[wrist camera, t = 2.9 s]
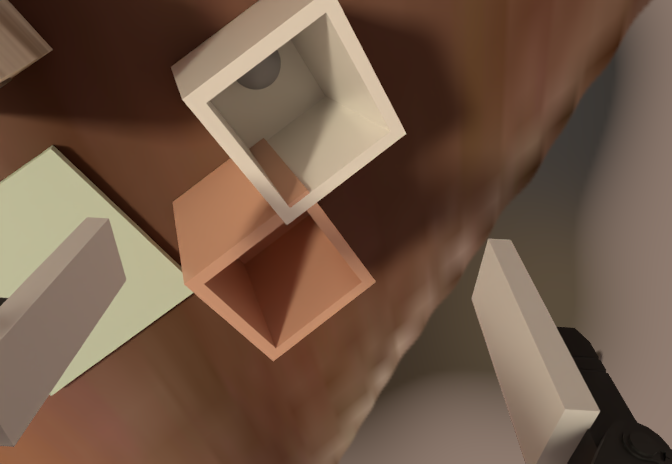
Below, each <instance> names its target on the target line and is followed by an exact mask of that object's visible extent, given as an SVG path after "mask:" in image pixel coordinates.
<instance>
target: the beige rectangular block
mask: <svg viewBox="0 0 672 464" xmlns="http://www.w3.org/2000/svg"><path fill="white" fill-rule="evenodd" d="M52 50H53V49H52V48H51V47H50V46H49V45H48V43H47V42H46V41H45V40H44V39H43V38H42V37H41V36H40V35H39V34H38V33H37V31H36V30H35V29H34V28H33V27H32V26H31V25H30V24H29V23H28V22H27V20H26V19H25V18H24V17H23V16H22V15H21V14H20V13H19V12H18V11H17V10H16V8H15V7H14V6H13V5H12V4H11V3H10V2H9V1H8V0H0V88H2V87H3V86H4V85H6V84H7V83H9V82H10V81H12V79H11V78H13V77H14V76H16V75H17V74H18V73H20V72H21V71H23V70H24V69H26V68H27V67H29V66H30V65H31V64H33V63H34V62H36V61H37V60H39V59H40V58H42V57H43V56H45V55H46V54H47V53H49V52H50V51H52Z"/></svg>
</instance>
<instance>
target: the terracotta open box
mask: <svg viewBox="0 0 672 464" xmlns="http://www.w3.org/2000/svg"><path fill="white" fill-rule="evenodd" d="M249 150H250V151H251V153H252V154H253V155H254V157H255V158H256V160H257V161H258V163H259V164H260V166H261V167H262V169H263V170H264V171H265V173H266V174H267V176H268V177H269V179H270V180H271V182H272V183H273V185H274V186H275V187H276V189H277V190H278V192H279V193H280V195H281V196H282V198H283V199H284V201H285V202H286V203H287V205H288V206H289V207H290V208H291V207H292V206H293V205H295V204H296V203H297V202H299V201H300V200H301V199H303V198H304V197H305V196H306V195H308V194H309V193H310V192H309V191H308V190H307V189H306V187H305V186H304V185H303V184H302V183H301V181H300V180H299V179H298V178H297V177H296V176H295V174H294V173H293V172H292V171H291V170H290V168H289V167H288V166H287V165H286V164H285V162H284V161H283V160H282V159H281V158H280V157H279V155H278V154H277V153H276V152H275V151H274V149H273V148H272V147H271V146H270V145H269V144H268V142H267V141H266V140H265V139H264V138H263V139H261V140H260V141H259V142H257V143H256V144H255V145H253V146H252V147H251V148H249ZM173 208H174V216H175V223H176V230H177V237H178V244H179V252H180V259H181V266H182V273H183V280H184V285H185V286H187V287H188V288H189V289H190V290H191V291H192V292H194V293H195V294H196V295H197V296H198V297H199V298H201V299H202V300H203V301H204V302H205V303H206V304H207V305H209V306H210V307H211V308H212V309H213V310H214V311H216V312H217V313H218V314H219V315H220V316H221V317H223V318H224V319H225V320H226V321H227V322H228V323H230V324H231V325H232V326H233V327H234V328H235V329H237V330H238V331H239V332H240V333H241V334H242V335H244V336H245V337H246V338H247V339H248V340H249V341H251V342H252V343H253V344H254V345H255V346H256V347H257V348H259V349H260V350H261V351H262V352H263V353H264V354H266V355H267V356H268V357H269V358H270V359H271V360H273V361H274V360H275V359H277V358H278V357H279V356H281V355H282V354H283V353H285V352H286V351H287V350H288V349H290V348H291V347H292V346H294V345H295V344H296V343H297V342H299V341H300V340H301V339H303V338H304V337H305V336H306V335H308V334H309V333H310V332H312V331H313V330H314V329H316V328H317V327H318V326H319V325H321V324H322V323H323V322H325V321H326V320H327V319H328V318H330V317H331V316H332V315H334V314H335V313H336V312H338V311H339V310H340V309H341V308H343V307H344V306H345V305H347V304H348V303H349V302H350V301H352V300H353V299H354V298H356V297H357V296H358V295H360V294H361V293H362V292H363V291H365V290H366V289H367V288H369V287H370V286H371V285H372V284H374V283H375V282H376V281H375V280H374V279H373V277H372V276H371V275H370V273H369V272H368V271H367V269H366V268H365V266H364V265H363V264H362V262H361V261H360V260H359V258H358V257H357V256H356V254H355V253H354V252H353V250H352V249H351V248H350V246H349V245H348V244H347V242H346V241H345V240H344V238H343V237H342V235H341V234H340V233H339V231H338V230H337V229H336V227H335V226H334V225H333V223H332V222H331V221H330V219H329V218H328V217H327V215H326V214H325V213H324V211H323V210H322V209H321V207H320V206H319V205H318V203H315V204H314V205H313V206H311V207H310V208H309V209H308V210H306V211H305V212H304V213H302V214H301V215H300V216H298V217H297V218H296V219H295V220H293V221H292V222H291V223H289V224H288V225H286V224H285V222H284V221H283V220H282V219H281V218H280V216H279V215H278V214H277V213H276V212H275V210H274V209H273V208H272V207H271V206H270V204H269V203H268V202H267V201H266V200H265V198H264V197H263V196H262V195H261V194H260V192H259V191H258V190H257V189H256V188H255V186H254V185H253V184H252V183H251V182H250V180H249V179H248V178H247V177H246V176H245V174H244V173H243V172H242V171H241V170H240V168H239V167H238V166H237V165H236V164H235V162H234V161H233V160H232V159H231V158H230V159H229V160H227V161H226V162H225V163H223V164H222V165H221V166H219V167H218V168H217V169H216V170H214V171H213V172H212V173H210V174H209V175H208V176H206V177H205V178H204V179H202V180H201V181H200V182H198V183H197V184H196V185H194V186H193V187H192V188H191V189H189V190H188V191H187V192H185V193H184V194H183V195H181V196H180V197H179V198H177V199H176V200H175V201H173Z"/></svg>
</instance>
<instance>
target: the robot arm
mask: <svg viewBox="0 0 672 464" xmlns="http://www.w3.org/2000/svg"><path fill="white" fill-rule="evenodd" d="M125 282H126V276H125V273H124V269H123V266H122V262H121V259H120V255H119V252H118V248H117V245H116V241H115V238H114V234H113V231H112V227H111V224H110V220H109V218H93V217H87V218H86V219H85V220H84V221H83V222H82V223H81V224H80V225H79V226H78V227H77V228H76V229H75V230H74V231H73V232H72V233H71V234H70V235H69V236H68V237H67V238H66V239H65V240H64V241H63V242H62V243H61V244H60V245H59V246H58V247H57V248H56V250H55V251H54V252H53V253H52V254H51V255H50V256H49V257H48V258H47V259H46V260H45V261H44V262H43V263H42V264H41V265H40V266H39V267H38V268H37V269H36V270H35V271H34V272H33V273H32V274H31V275H30V276H29V277H28V278H27V279H26V280H25V281H24V282H23V283H22V284H21V286H20V287H19V288H18V289H17V290H16V291H15V292H14V293H13V294H12V295H11V296H10V297H9V298H0V446H13V447H14V446H15V445H16V443H17V442H18V440H19V439H20V437H21V436H22V434H23V433H24V431H25V430H26V428H27V427H28V425H29V424H30V422H31V421H32V419H33V418H34V416H35V415H36V413H37V412H38V410H39V409H40V407H41V406H42V405H43V403H44V402H45V400H46V399H47V397H48V396H49V394H50V393H51V391H52V390H53V388H54V387H55V385H56V384H57V382H58V381H59V379H60V378H61V376H62V375H63V373H64V372H65V370H66V369H67V367H68V366H69V365H70V363H71V362H72V360H73V359H74V357H75V356H76V354H77V353H78V351H79V350H80V348H81V347H82V345H83V344H84V342H85V341H86V339H87V338H88V336H89V335H90V333H91V332H92V330H93V329H94V327H95V326H96V324H97V323H98V322H99V320H100V319H101V317H102V316H103V314H104V313H105V311H106V310H107V308H108V307H109V305H110V304H111V302H112V301H113V299H114V298H115V296H116V295H117V293H118V292H119V290H120V289H121V287H122V286H123V284H124V283H125ZM472 301H473V304H474V308H475V311H476V313H477V317H478V320H479V323H480V326H481V329H482V332H483V335H484V338H485V341H486V344H487V347H488V350H489V353H490V357H491V360H492V363H493V366H494V369H495V371H496V375H497V378H498V381H499V384H500V387H501V390H502V393H503V396H504V399H505V402H506V405H507V408H508V412H509V415H510V418H511V421H512V424H513V427H514V429H515V433H516V436H517V439H518V442H519V445H520V448H521V451H522V454H523V457H524V461H525V464H672V450H671V449H670V447H669V446H668V445H667V444H666V442H665V441H664V440H663V439H662V438H661V437H660V436H659V435H658V434H656V433H655V432H654V431H652V430H651V429H649V428H648V427H646V426H643V425H641V424H639V423H637V421H636V420H635V418H634V417H633V415H632V413H631V412H630V410H629V408H628V407H627V405H626V403H625V401H624V400H623V398H622V396H621V395H620V393H619V391H618V389H617V388H616V386H615V384H614V383H613V381H612V379H611V378H610V376H609V374H608V373H606V369H605V367H604V366H603V364H602V362H601V361H600V360H599V359H598V358H599V357H598V355H597V354H596V352H595V350H594V349H593V347H592V345H591V343H590V342H589V341H588V340H587V339H586V338H585V337H584V336H583V335H582V334H581V333H579V332H578V331H577V330H576V329H575V328H565V327H556V326H555V324H554V322H553V320H552V318H551V316H550V314H549V312H548V310H547V308H546V306H545V305H544V303H543V301H542V299H541V297H540V295H539V293H538V291H537V289H536V287H535V285H534V283H533V282H532V280H531V278H530V276H529V274H528V272H527V270H526V268H525V266H524V264H523V262H522V261H521V259H520V257H519V255H518V253H517V251H516V249H515V247H514V245H513V243H512V241H511V240H505V239H488V242H487V245H486V249H485V253H484V256H483V260H482V263H481V267H480V270H479V274H478V278H477V281H476V285H475V288H474V292H473V295H472Z"/></svg>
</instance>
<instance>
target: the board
mask: <svg viewBox="0 0 672 464" xmlns="http://www.w3.org/2000/svg"><path fill="white" fill-rule="evenodd" d="M87 217H93V218H109V220H110V224H111V227H112V231H113V234H114V238H115V241H116V245H117V248H118V252H119V255H120V259H121V262H122V266H123V269H124V273H125V276H126V282H125V283H124V284H123V286H122V287H121V289H120V290H119V292H118V293H117V295H116V296H115V298H114V299H113V301H112V302H111V304H110V305H109V307H108V308H107V310H106V311H105V313H104V314H103V316H102V317H101V319H100V320H99V322H98V323H97V324H96V326H95V327H94V329H93V330H92V332H91V333H90V335H89V336H88V338H87V339H86V341H85V342H84V344H83V345H82V347H81V348H80V350H79V351H78V353H77V354H76V356H75V357H74V359H73V360H72V362H71V363H70V365H69V366H68V367H67V369H66V370H65V372H64V373H63V375H62V376H61V378H60V379H59V381H58V382H57V384H56V385H55V387H54V388H53V390H52V391H51V393H50V394H49V395H51V396H52V395H53V394H54V393H56V392H57V391H59V390H60V389H61V388H63V387H64V386H65V385H67V384H68V383H70V382H71V381H72V380H74V379H75V378H76V377H78V376H79V375H81V374H82V373H83V372H85V371H86V370H88V369H89V368H90V367H92V366H93V365H94V364H96V363H97V362H99V361H100V360H101V359H103V358H104V357H105V356H107V355H108V354H110V353H111V352H112V351H114V350H115V349H116V348H118V347H119V346H121V345H122V344H123V343H125V342H126V341H127V340H129V339H130V338H132V337H133V336H134V335H136V334H137V333H139V332H140V331H141V330H143V329H144V328H145V327H147V326H148V325H150V324H151V323H152V322H154V321H155V320H156V319H158V318H159V317H161V316H162V315H163V314H165V313H166V312H167V311H169V310H170V309H172V308H173V307H174V306H176V305H177V304H178V303H180V302H181V301H183V300H184V299H185V298H187V297H188V296H190V295H191V294H192V293H194V292H192V291H191V290H190V289H189V288H188V287H187V286H185V285H184V280H183V273H182V267H181V266H180V265H179V264H178V263H177V262H176V261H174V260H173V259H172V258H171V257H170V256H169V255H168V254H167V253H166V252H165V251H164V250H163V249H162V248H161V247H160V246H159V245H158V244H157V243H156V242H154V241H153V240H152V239H151V238H150V237H149V236H148V235H147V234H146V233H145V232H144V231H143V230H142V229H141V228H140V227H139V226H138V225H137V224H136V223H134V222H133V221H132V220H131V219H130V218H129V217H128V216H127V215H126V214H125V213H124V212H123V211H122V210H121V209H120V208H119V207H118V206H117V205H116V204H114V203H113V202H112V201H111V200H110V199H109V198H108V197H107V196H106V195H105V194H104V193H103V192H102V191H101V190H100V189H99V188H98V187H97V186H96V185H94V184H93V183H92V182H91V181H90V180H89V179H88V178H87V177H86V176H85V175H84V174H83V173H82V172H81V171H80V170H79V169H78V168H77V167H76V166H74V165H73V164H72V163H71V162H70V161H69V160H68V159H67V158H66V157H65V156H64V155H63V154H62V153H61V152H60V151H59V150H58V149H57V148H56V147H54V146H53V145H52V146H51V147H50V148H48V149H47V150H45V151H44V152H42V153H41V154H40V155H38V156H37V157H35V158H34V159H32V160H31V161H30V162H28V163H27V164H25V165H24V166H22V167H21V168H20V169H18V170H17V171H15V172H14V173H12V174H11V175H10V176H8V177H7V178H5V179H4V180H2V181H1V182H0V298H9V297H10V296H11V295H12V294H13V293H14V292H15V291H16V290H17V289H18V288H19V287H20V286H21V284H22V283H23V282H24V281H25V280H26V279H27V278H28V277H29V276H30V275H31V274H32V273H33V272H34V271H35V270H36V269H37V268H38V267H39V266H40V265H41V264H42V263H43V262H44V261H45V260H46V259H47V258H48V257H49V256H50V255H51V254H52V253H53V252H54V251H55V250H56V248H57V247H58V246H59V245H60V244H61V243H62V242H63V241H64V240H65V239H66V238H67V237H68V236H69V235H70V234H71V233H72V232H73V231H74V230H75V229H76V228H77V227H78V226H79V225H80V224H81V223H82V222H83V221H84V220H85V219H86V218H87Z"/></svg>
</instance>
